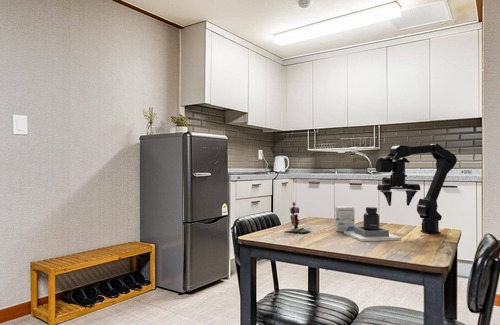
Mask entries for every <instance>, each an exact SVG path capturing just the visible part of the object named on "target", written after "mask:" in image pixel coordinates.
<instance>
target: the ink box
mask: <svg viewBox="0 0 500 325" xmlns="http://www.w3.org/2000/svg"><path fill="white" fill-rule="evenodd" d="M334 210H335V211H334V212H335V215H334V217H335V219H334V220H335V231H336V232H338V233H340V232H343V233H344V231H354V227H356V226H355V208H354V207H353V206H335V207H334Z"/></svg>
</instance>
